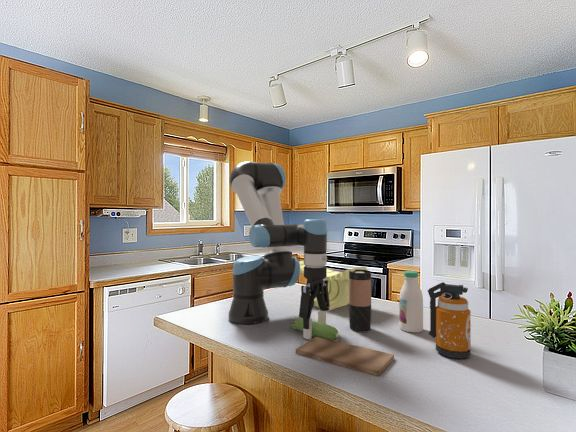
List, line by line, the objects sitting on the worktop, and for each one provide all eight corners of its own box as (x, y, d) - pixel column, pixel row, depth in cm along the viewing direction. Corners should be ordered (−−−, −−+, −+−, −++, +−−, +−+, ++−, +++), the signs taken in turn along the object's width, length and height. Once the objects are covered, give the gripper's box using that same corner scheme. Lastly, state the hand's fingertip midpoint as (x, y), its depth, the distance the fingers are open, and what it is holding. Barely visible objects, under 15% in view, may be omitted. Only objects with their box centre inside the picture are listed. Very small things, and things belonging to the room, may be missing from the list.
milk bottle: (423, 327, 118) (423, 270, 118) (422, 334, 111) (422, 274, 111) (400, 324, 121) (400, 269, 121) (398, 331, 114) (398, 272, 114)
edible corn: (330, 331, 102) (339, 324, 105) (286, 318, 117) (295, 312, 120) (333, 346, 103) (342, 339, 106) (289, 332, 118) (298, 325, 121)
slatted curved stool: (368, 306, 144) (368, 265, 144) (346, 314, 133) (346, 269, 133) (315, 294, 166) (315, 258, 166) (292, 300, 155) (292, 262, 155)
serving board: (295, 353, 96) (295, 348, 96) (316, 340, 106) (316, 336, 106) (379, 376, 82) (379, 371, 82) (393, 358, 92) (393, 354, 92)
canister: (469, 363, 90) (469, 288, 90) (425, 353, 96) (425, 283, 95) (471, 351, 97) (471, 282, 97) (430, 343, 103) (430, 278, 103)
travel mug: (371, 333, 112) (371, 273, 112) (348, 331, 114) (348, 272, 114) (370, 325, 120) (370, 269, 120) (349, 324, 121) (349, 269, 121)
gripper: (308, 271, 100) (307, 347, 100) (339, 262, 118) (339, 326, 118) (287, 269, 104) (287, 341, 104) (321, 261, 122) (320, 322, 122)
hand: (315, 333), depth 111 cm, fingers open, 9 cm apart
